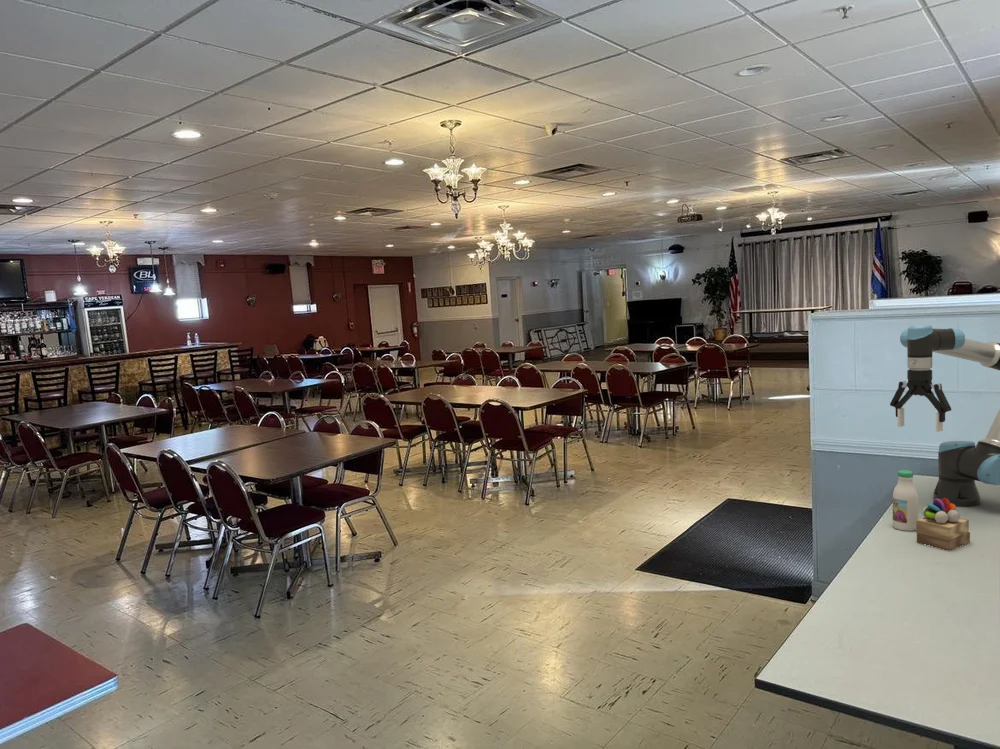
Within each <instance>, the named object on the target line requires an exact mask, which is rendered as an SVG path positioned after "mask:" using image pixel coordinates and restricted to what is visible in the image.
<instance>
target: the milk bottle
mask: <svg viewBox="0 0 1000 749" xmlns="http://www.w3.org/2000/svg"><path fill="white" fill-rule="evenodd" d="M897 478H898V480H897V484H896V485H895V487H894V489H893V493H892V527H893V528H894V529H896V530H900V531H905V532H913V531H916V521H917V520H919V493H918V491H917V488H916V487H915V484H914V482H913V479H914V472H913V471H911V470H907V469H900V470H898V471H897Z"/></svg>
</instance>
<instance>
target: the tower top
mask: <svg viewBox="0 0 1000 749" xmlns="http://www.w3.org/2000/svg"><path fill="white" fill-rule="evenodd" d="M969 526H970V524H969V519H967V518H966V519H965V518H959V520H958V521H957V522H949V521H948V520H947V521H946V522H945V523H942V524H941V523H937V522H936V520H935V518H930V519H927V518H925V517H924V516H923V517H922V518H918V520H917V521H916V530H915V531H916V534H917V533H920V534H925V535H929V536H933V537H937V538H941V539H945V540H951V539H954V538H956V537H958V536H961V535H963V534H965V533H968V532H969V529H970V528H969Z"/></svg>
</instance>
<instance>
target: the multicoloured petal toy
mask: <svg viewBox="0 0 1000 749" xmlns="http://www.w3.org/2000/svg"><path fill="white" fill-rule="evenodd" d="M956 507H957V506H955V505H954V504H952V503H950V502H949V500H948V499H946V498H943V499H941V500H940V499H938V498H936V499H933V500H932V503H929V502H928V503H927V506H925V507H923V509H922V511H921V515H922V516H923V518H924V517H925V518H927V519H930V518H935V520H936V522H937V523H941V524H942V523H945V522H946V521H947V520H948V521H949V522H957V521H958V520H959V518H960V517H961V516H960V513H959V512H958V511H957V510H956Z"/></svg>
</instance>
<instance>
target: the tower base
mask: <svg viewBox="0 0 1000 749" xmlns="http://www.w3.org/2000/svg"><path fill="white" fill-rule="evenodd" d="M916 543H917V544H920V543H921V544H920V545H924V544H926V545H925V546H927V545H930V546H929V547H931V546H933V547H932V548H935V547H937V548H936V549H939V548H940V549H939V550H943V549H944V551H946V550H948V551H947V552H950V551H949V550H951V551H953V550H956V549H958V548H960V546H961V547H963V546H965V544H966V545H969V544H970V543H971V532H968V533H965V534H963V535H961V536H958V537H956V538H954V539H951V540H945V539H941V538H937V537H933V536H929V535H925V534H920V533H916ZM968 543H969V544H968ZM962 545H963V546H962ZM957 547H958V548H957ZM955 548H956V549H955ZM952 549H953V550H952Z"/></svg>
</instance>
